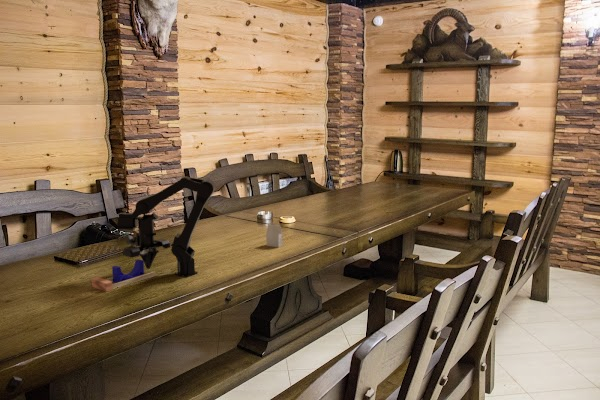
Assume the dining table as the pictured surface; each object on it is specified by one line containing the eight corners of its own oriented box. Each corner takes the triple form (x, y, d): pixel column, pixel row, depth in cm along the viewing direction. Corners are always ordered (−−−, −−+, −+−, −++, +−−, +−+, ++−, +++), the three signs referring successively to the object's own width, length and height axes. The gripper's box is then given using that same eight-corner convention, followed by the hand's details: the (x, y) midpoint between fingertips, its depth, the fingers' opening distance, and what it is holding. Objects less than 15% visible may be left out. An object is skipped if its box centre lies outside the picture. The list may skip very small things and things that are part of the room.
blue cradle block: (120, 284, 204) (119, 268, 203) (113, 281, 207) (112, 266, 205) (146, 276, 213) (145, 261, 212) (139, 273, 216) (138, 259, 215)
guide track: (156, 275, 214) (156, 268, 213) (106, 291, 196) (106, 283, 196) (142, 271, 219) (141, 264, 219) (92, 286, 201) (91, 278, 201)
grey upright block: (278, 247, 255) (278, 226, 253) (266, 245, 258) (266, 225, 257) (282, 245, 258) (282, 225, 257) (270, 243, 262) (270, 223, 260)
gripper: (152, 223, 225) (154, 259, 228) (112, 231, 210) (115, 270, 213) (170, 226, 218) (172, 264, 221) (130, 236, 204) (133, 276, 207)
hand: (148, 268), depth 216 cm, fingers closed
